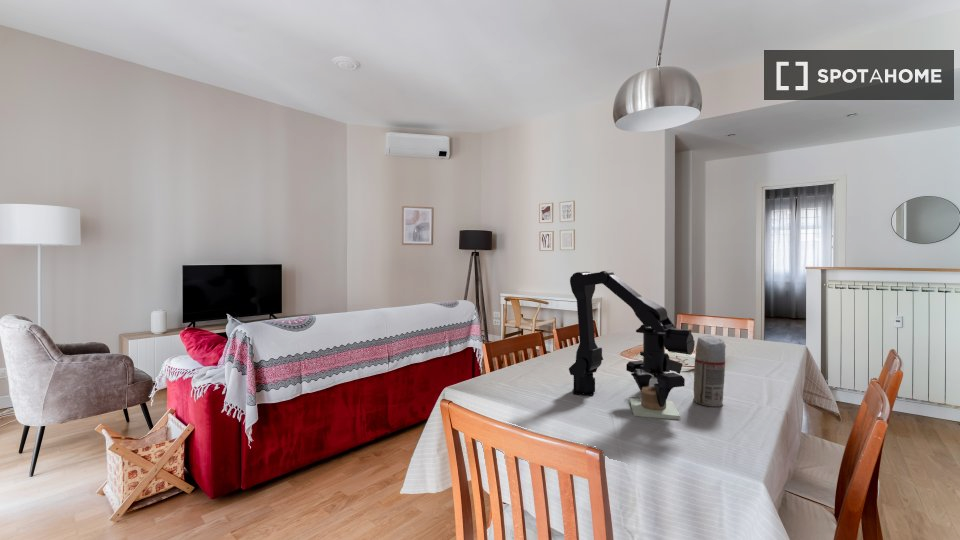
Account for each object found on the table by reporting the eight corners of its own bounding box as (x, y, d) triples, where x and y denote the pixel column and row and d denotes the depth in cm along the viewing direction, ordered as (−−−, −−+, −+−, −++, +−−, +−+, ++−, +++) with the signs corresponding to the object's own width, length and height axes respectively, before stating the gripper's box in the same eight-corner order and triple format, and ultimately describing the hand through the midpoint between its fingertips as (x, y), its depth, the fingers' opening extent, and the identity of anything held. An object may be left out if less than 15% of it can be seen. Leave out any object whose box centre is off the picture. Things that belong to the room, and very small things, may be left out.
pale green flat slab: (633, 415, 119) (633, 399, 118) (629, 401, 130) (629, 386, 130) (680, 419, 116) (680, 403, 115) (672, 404, 127) (672, 389, 127)
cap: (660, 411, 118) (660, 391, 118) (637, 406, 123) (637, 387, 123) (669, 405, 123) (669, 386, 123) (647, 400, 127) (647, 382, 127)
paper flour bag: (721, 399, 131) (722, 335, 130) (727, 408, 123) (728, 340, 122) (691, 397, 134) (691, 334, 133) (695, 405, 126) (695, 339, 125)
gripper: (701, 354, 115) (701, 410, 116) (656, 341, 133) (656, 390, 134) (666, 357, 112) (666, 415, 113) (625, 343, 130) (625, 393, 131)
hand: (653, 402), depth 123 cm, fingers closed on cap, 7 cm apart
